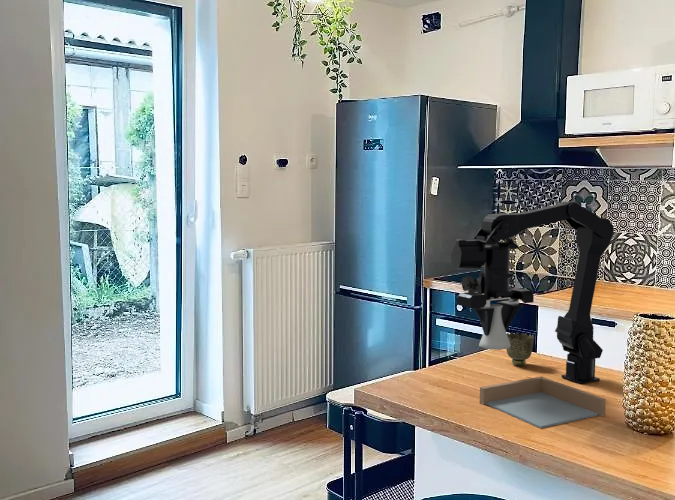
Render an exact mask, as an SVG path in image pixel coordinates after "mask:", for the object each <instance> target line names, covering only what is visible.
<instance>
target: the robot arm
mask: <svg viewBox="0 0 675 500" xmlns="http://www.w3.org/2000/svg"><path fill="white" fill-rule="evenodd" d="M562 221H565V222H566V223H567V224H568V226H569V227H570V228H571V229H573V230H574V231H575V232H576V239H575V240H576V245H577V248H578V252H579V253H578V259H577V266H576V271H575V275H574V282H573V285H572V286H573V287H572V292H571V298H570V303H569V307H568V311H567V312H566V313H565V314H564V316H561V315H558V317H557V324H556V328H555V329H554V332H555V333H556V339H557V340H558V342H559V343H560V344H561V347H562V351H564V352H567V355H566V361H565V362H566V363H565V374H561V378H563V379H566V380H569V381H572V382H575V383H578V384H588V383H592V382H593V383H594V382H599V381H601V380H600V379H601V378H600V377H598V376H596V359H601V356H602V353H603V348H601V346H600V345H599V344H598V342H596V340H594V328H595V327H594V324H593V322H592V317H591V311H592V306H593V300H594V295H595V290H596V285H597V279H598V274H599V270H600V269H599V268H600V264H601V258H602V255H603V254H604V253H605V252H606V251H607V249H608V248H609V247H610V245H611V241H612V239H613V237H614V231H615V228H614V225H613V224H612V222H611V221H610V220H609V219H607V218H604V217H601V216H600V215H598V214H596V213H594V212H592V211H590V210H588V209H586V208H584V207H583V206H582V205H580V204H579V203H578V202H576V201H563V202H560V203H557V204H553V205H549V206H544V207H540V208H537V209H531V210H527V211H522V212H519V213H518V212H517V213H490V214H488V215H485V216H484V218H483V220H482V222H481V227H480V228H479V229H478V231H477V232H476V233H475V235H474V236H473V238H472V239H455V245H453V248H452V252H451V254H450V257H451V264H452V266H453V269H455V270H474V269H481V268H482V266H484V267H483V271H480V273H479V277H478V278H473V277H472V276H465V277H462V278H461V288H462V290H463V291H464V292H460V293H459V294H458V295H457V297H456V298H457V299H456V305H457V306H461V307H465V308H468V309H473V310H474V311H475V313H476V315H477V317H478V319H479V322H480V325H481V329H482V331H483V333H484V334H485V335H487V336H488V335H489V333H490V329H491V323H492V317H493V312H494V308H492V307H490V304H491V303H496V302H497V303H496V304H499V305H503V307H502V309H501V314H502V321H503V324H504V327H505V330H506V332H508V329H509V328H510V325H511V324H512V322H513V320H514V318H515V316H516V315H517V314H518V313H519V310H520V309H521V308H523V306H524V305H523V304H533V303H534V293H533V291H532V290H530V289H525V288H520V287H514V288H510V279H511V278H512V279H513V278H514V274H513V272H510V261H511V260H510V259H511V258H510V253H511V252H510V250H519V248H520V246H519V244H517V243H516V242H515V241H514V239H513V237H515V236H518V235H519V234H521V233H522V232H524V231H526V230H529V229H531V228H536V227H541V226H544V225H545V226H546V225H548V224H553V223H558V222H562ZM520 300H521V301H522V303H523V304H521V303H520Z"/></svg>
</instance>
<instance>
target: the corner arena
mask: <svg viewBox="0 0 675 500" xmlns="http://www.w3.org/2000/svg"><path fill="white" fill-rule="evenodd" d="M606 402H607V400H606V398H604V397H602V396H599V395H596V394H593V393H590V392H588V391H585V390H581V389H578V388H575V387H574V386H573V387H572V386H570V385H567V384H564V383H563V382H559V381H555V380H552V379H549V378H546V377H544V376H536V377H530V378H526V379H520V380H514V381H507V382H502V383H501V382H500V383H498V384H496V383H495V384H491V385H486V386H480V388H479V404H482V405H487V406H489V407H491V408H493V409H494V410H498V411H500V412H502V413H505V414H507V415H509V416H511V417H513V418H516V419H518V420H521V421H522V422H525V423H528V424H530V425H532V426H534V427H536V428H538V429H543V428H544V429H545V428H548V427H553V426H556V425H562V424H565V423H570V422H575V421H579V420H583V419H584V418H585V419H588V418H593V417H604V416H606Z"/></svg>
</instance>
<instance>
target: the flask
mask: <svg viewBox="0 0 675 500" xmlns="http://www.w3.org/2000/svg"><path fill="white" fill-rule="evenodd" d="M490 307H492V308H494V312H493V317H492V323H491V329H490V333H489V335H488V336H487V335H485V334H484V332H483V333H482V335H481V339H480V340H479V344H478V347H480V348H484V349H487V350H498V351H500V350H501V351H502V350H506V349H509V347H510V346H511V345H510V342H509V339H508V336H507V333H508V332H507V331H506V330H505V327H504V324H503V321H502V314H501V309H502V307H503V305H499V304H498V303H490Z"/></svg>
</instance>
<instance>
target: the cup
mask: <svg viewBox="0 0 675 500" xmlns="http://www.w3.org/2000/svg"><path fill="white" fill-rule="evenodd" d="M506 333H507V336H508V339H509V342H510V345H511V346H510V347H509V349H505V350H506V353H507V355H508V357H509V358H510V359H511V364H512V365H514V366H518V367H522V366H523V367H524V366H525V365H526V364H527V359H529V358H530V357H531V355H532V353H533V349H534V341H535V335H534V334H532V335H531V333H530V334H529V335H528V333H527V332H525V333H524V332H521V333H519V332H515V333H516V334H515V333H514V332H512V331H511V332H510V333H509V332H506Z"/></svg>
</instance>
